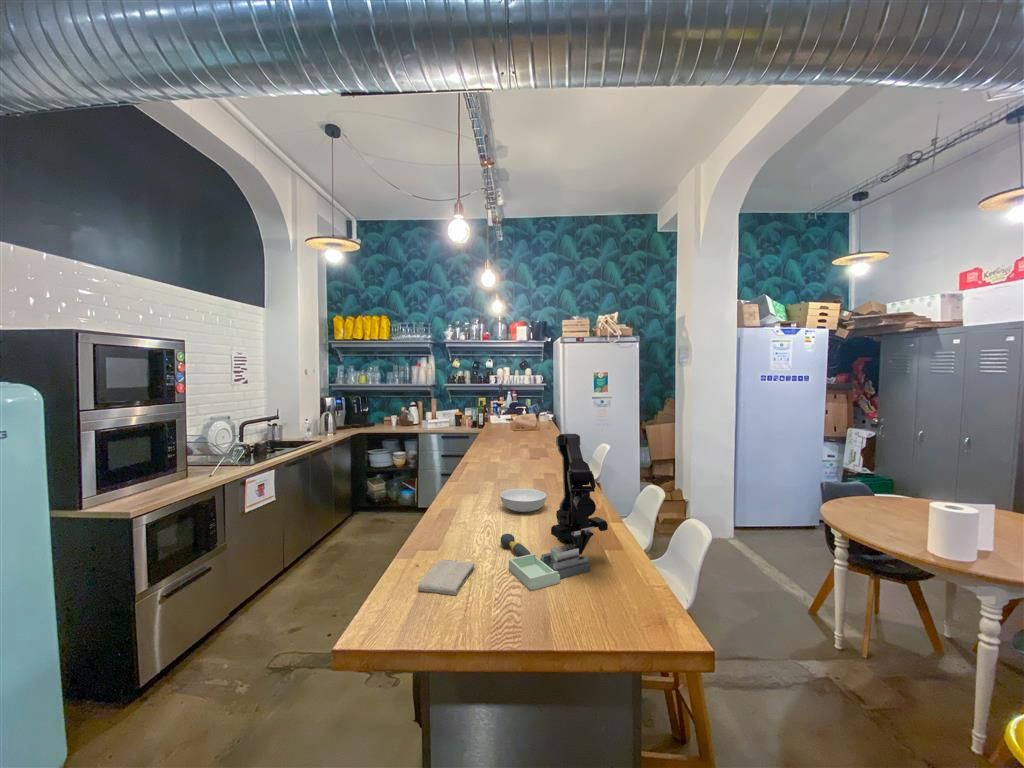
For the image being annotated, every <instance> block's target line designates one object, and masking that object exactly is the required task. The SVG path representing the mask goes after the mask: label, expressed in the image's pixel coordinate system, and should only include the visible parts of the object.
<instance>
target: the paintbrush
mask: <svg viewBox="0 0 1024 768" xmlns="http://www.w3.org/2000/svg"><path fill="white" fill-rule="evenodd" d="M500 544H501V546H502V548H505V549H511V551H512V552H513V554H515V555H516V556H517V557H521V556H525V555H530V554H532V553H531V552H530V551H529V549H527V548H526V546H525V545H523V544H522V543H519V542H516V540H515V536H514V535H513V534H512V533H504V534H502V535H501V536H500Z"/></svg>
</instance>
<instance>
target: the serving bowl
mask: <svg viewBox="0 0 1024 768" xmlns="http://www.w3.org/2000/svg"><path fill="white" fill-rule="evenodd" d="M500 499H501V503H502V504H503V505H504V507H505V508H507V509H509V510H511V511H515V512H519V513H530V512H533V511H536V510H539V509H540V508H542V507H543V506H544V505H545V503H546V500H547V494H546V493H545V492H544V491H542V490H538V489H533V488H511V489H506V490H504V491H502V492H501V493H500Z"/></svg>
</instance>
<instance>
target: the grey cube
mask: <svg viewBox="0 0 1024 768" xmlns="http://www.w3.org/2000/svg"><path fill="white" fill-rule="evenodd" d="M561 546H562V547H563V548H565V549H566V550H568V560H570V559H574V558H578V557H580V555H579V548H578V547H576V546H575V544H574V543H573V544H568V545H567V544H564V545H561Z"/></svg>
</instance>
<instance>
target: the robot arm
mask: <svg viewBox="0 0 1024 768" xmlns="http://www.w3.org/2000/svg"><path fill="white" fill-rule="evenodd" d="M555 445H556V447H557V451H558V453H559V455H560V456H561V457H562V458H561V459H562V462H561V463H562V484H563V485H562V486H563V487H562V488H563V498H562V500H561V501H560V502H559V508H558V510H556V514H555V515H556V522H557V524H553V525H552V526H551V528H550V534H551V535H552V536H554V537H555V538H557V540H559V541H560V542H561V543H564V545H568V544H573V545H575V546H576V547H578V548H579V556H580V555H582V554H583V552H584V550H585V549H586V546H587V545H588V543H589V541H590V539H591V538H592V536H593V537H594V535H595V534H594V533H593V532H592V529H594V528H597V529H598V530H599V531H600V532H605V531H608V529H609V524H608V521H606V520H605V519H603V518H601V517H598V516H594V517H591V516H593V514H595V512H596V509H597V505H596V502H595V501H594V500H593V498H592V496H591V492H592V493H594V492H595V491H596V490H595V489H596V481H595V475H594V474H593V470H591V469H590V466H589V464H588V463H587V462H586V461H585V460H584V458H583V454H582V451H581V436H580V435H579V434H577V433H559V434H558V435H557V436H556V438H555ZM589 517H590V518H589Z"/></svg>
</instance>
